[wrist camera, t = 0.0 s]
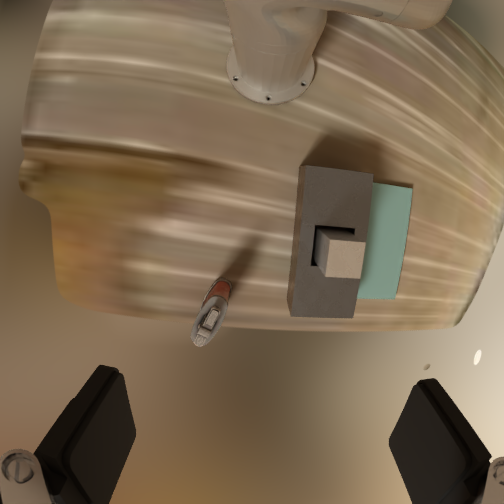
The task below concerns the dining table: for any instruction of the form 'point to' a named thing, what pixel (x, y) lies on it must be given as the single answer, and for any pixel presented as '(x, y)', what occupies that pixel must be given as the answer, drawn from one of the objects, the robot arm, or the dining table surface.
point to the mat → (385, 241)
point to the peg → (338, 252)
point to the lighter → (211, 312)
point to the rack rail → (307, 216)
